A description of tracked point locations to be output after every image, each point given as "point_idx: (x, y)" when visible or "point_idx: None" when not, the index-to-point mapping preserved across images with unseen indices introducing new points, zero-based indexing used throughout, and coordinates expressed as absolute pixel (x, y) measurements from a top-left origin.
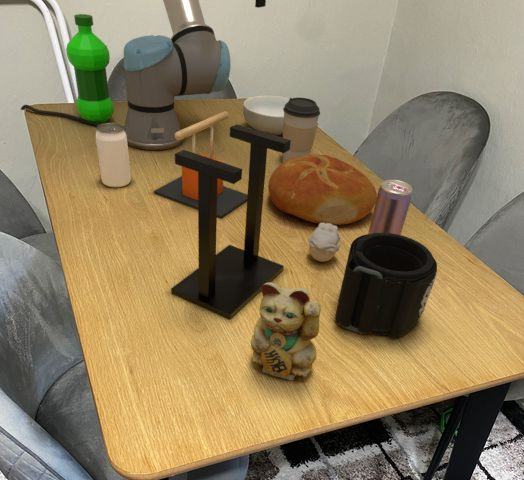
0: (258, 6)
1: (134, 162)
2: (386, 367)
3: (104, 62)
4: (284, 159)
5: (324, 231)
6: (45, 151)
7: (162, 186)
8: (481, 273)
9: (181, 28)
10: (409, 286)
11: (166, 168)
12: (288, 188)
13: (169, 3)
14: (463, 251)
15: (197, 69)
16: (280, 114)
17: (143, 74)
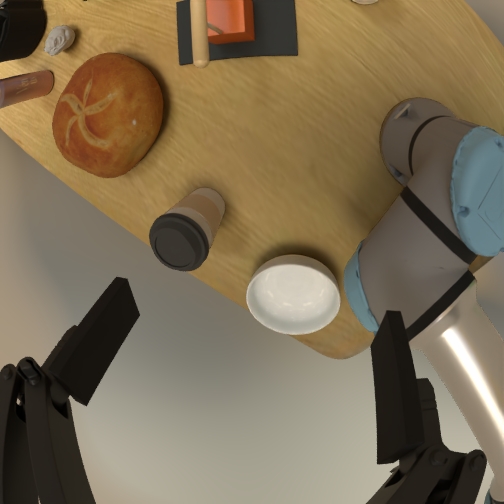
0: (114, 280)
1: (391, 52)
2: None
3: None
4: (212, 192)
5: (49, 36)
6: (491, 37)
7: (293, 2)
8: (12, 133)
9: (462, 300)
10: None
11: (340, 58)
12: (99, 59)
13: (501, 347)
14: (25, 150)
15: (391, 227)
16: (297, 313)
17: (466, 128)
